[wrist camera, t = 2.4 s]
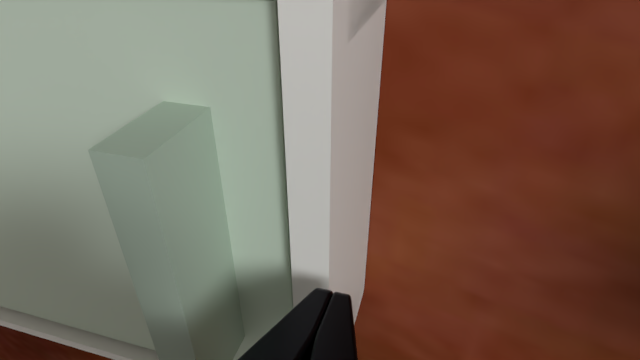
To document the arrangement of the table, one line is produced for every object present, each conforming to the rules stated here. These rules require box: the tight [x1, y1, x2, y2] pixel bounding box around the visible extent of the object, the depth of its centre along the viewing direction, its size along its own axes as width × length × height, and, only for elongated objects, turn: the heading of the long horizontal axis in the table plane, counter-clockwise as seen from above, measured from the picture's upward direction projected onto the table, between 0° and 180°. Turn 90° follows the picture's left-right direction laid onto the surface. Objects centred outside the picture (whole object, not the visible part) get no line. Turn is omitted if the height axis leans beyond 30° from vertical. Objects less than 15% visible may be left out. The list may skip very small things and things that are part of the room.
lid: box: [0, 0, 293, 360], centre depth 12 cm, size 13×14×3 cm
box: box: [0, 0, 387, 360], centre depth 15 cm, size 14×15×6 cm
